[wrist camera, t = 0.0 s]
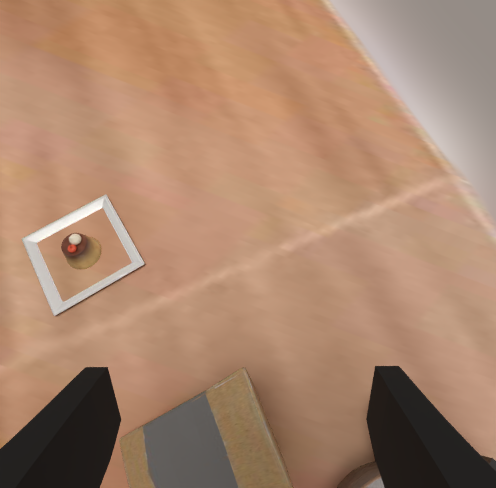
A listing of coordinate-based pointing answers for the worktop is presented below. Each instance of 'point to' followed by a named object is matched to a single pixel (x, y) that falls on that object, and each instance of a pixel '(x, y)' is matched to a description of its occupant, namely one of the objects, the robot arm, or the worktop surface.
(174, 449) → the sandwich container
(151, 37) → the worktop surface
